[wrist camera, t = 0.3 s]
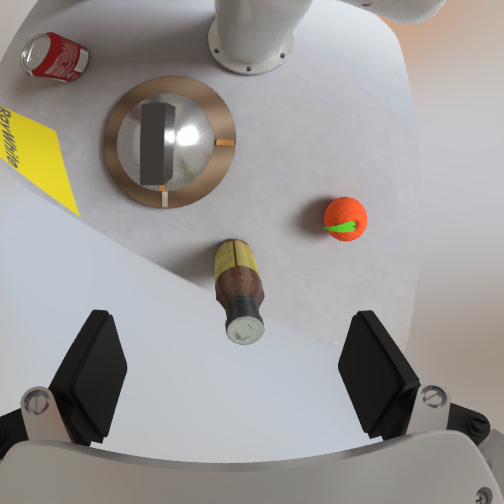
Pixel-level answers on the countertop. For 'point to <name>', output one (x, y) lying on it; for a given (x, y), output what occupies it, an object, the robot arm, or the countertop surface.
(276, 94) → the countertop surface
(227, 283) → the sauce bottle
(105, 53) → the countertop surface
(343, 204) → the clementine
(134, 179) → the dial
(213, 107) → the base
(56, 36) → the soda can
